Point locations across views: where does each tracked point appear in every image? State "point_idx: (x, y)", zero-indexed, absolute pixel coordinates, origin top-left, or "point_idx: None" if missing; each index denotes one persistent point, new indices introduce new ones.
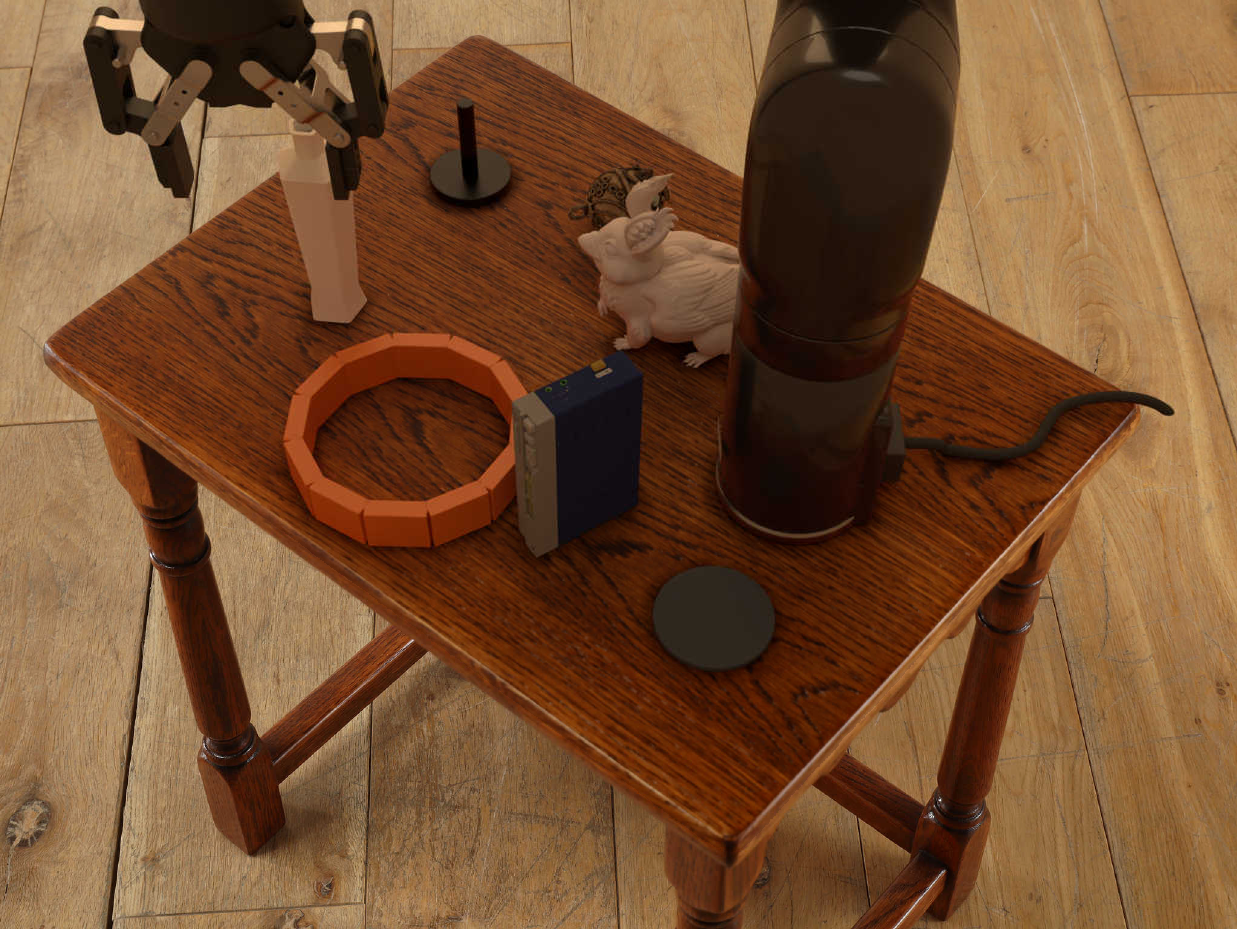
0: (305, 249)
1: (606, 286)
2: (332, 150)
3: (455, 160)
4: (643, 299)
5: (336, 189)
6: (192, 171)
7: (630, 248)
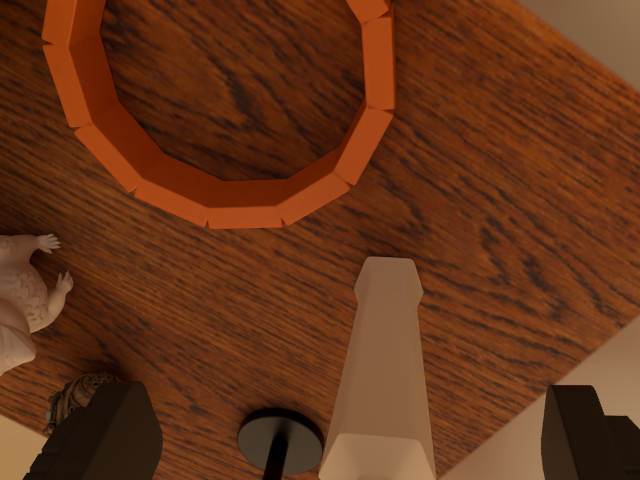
0: (404, 337)
1: (19, 296)
2: None
3: (299, 460)
4: None
5: (108, 408)
6: (545, 466)
7: None
